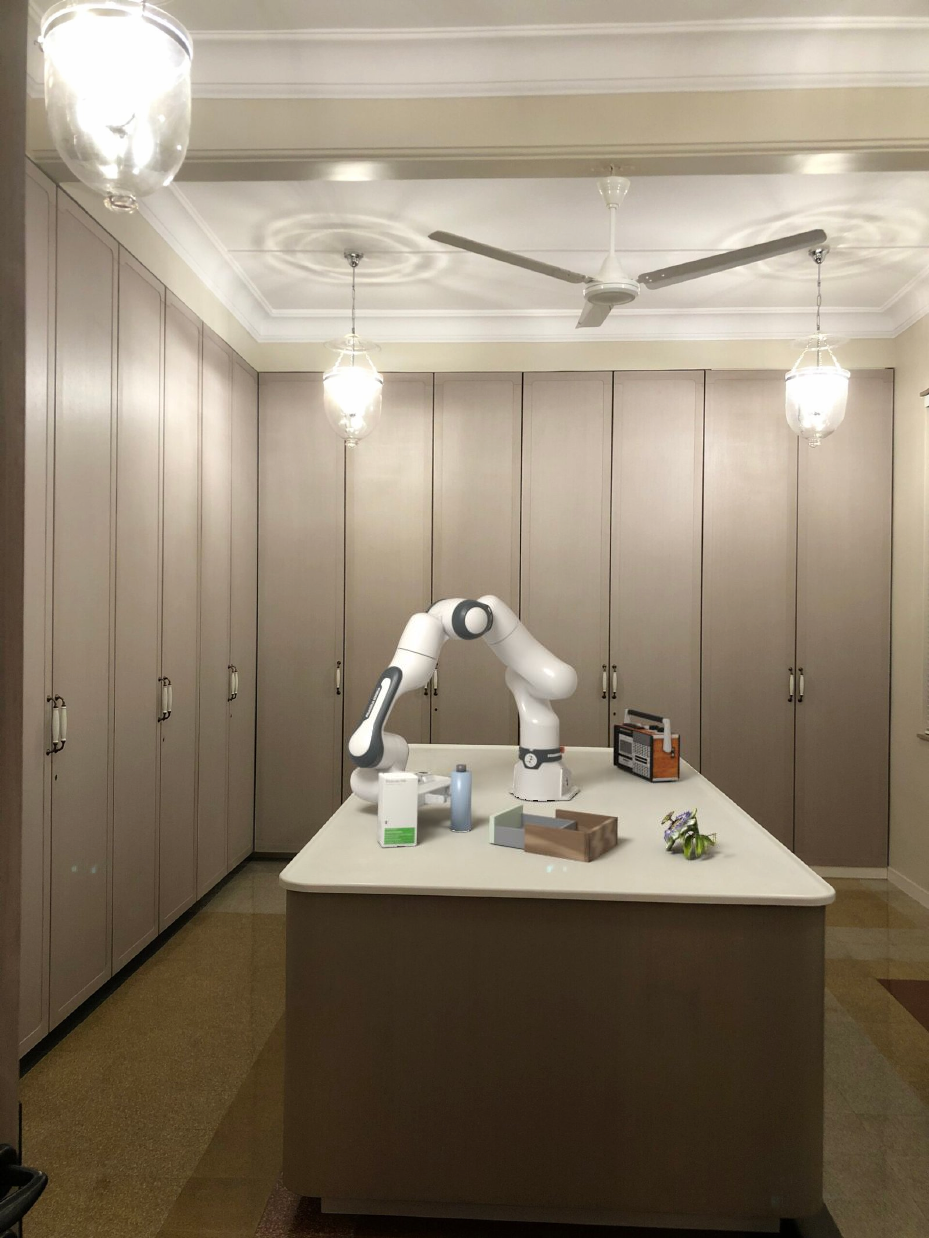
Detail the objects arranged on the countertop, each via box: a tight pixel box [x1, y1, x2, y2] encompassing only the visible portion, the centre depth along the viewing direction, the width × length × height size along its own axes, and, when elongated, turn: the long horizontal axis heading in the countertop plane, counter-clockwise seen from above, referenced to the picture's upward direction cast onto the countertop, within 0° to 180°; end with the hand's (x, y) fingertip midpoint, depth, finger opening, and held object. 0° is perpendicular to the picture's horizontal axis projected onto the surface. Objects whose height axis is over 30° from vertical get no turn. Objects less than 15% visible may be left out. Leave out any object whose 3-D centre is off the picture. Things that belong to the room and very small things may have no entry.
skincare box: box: [376, 773, 419, 848], centre depth 194 cm, size 8×7×16 cm
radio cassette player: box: [612, 708, 681, 783], centre depth 278 cm, size 29×10×20 cm, turn 15°
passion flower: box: [661, 807, 717, 861], centre depth 188 cm, size 11×11×12 cm
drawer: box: [488, 803, 576, 850], centre depth 196 cm, size 15×15×6 cm
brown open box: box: [523, 808, 619, 863], centre depth 192 cm, size 17×15×6 cm
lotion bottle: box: [449, 763, 473, 831], centre depth 206 cm, size 5×5×16 cm
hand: (455, 795), depth 207 cm, fingers open, 8 cm apart
